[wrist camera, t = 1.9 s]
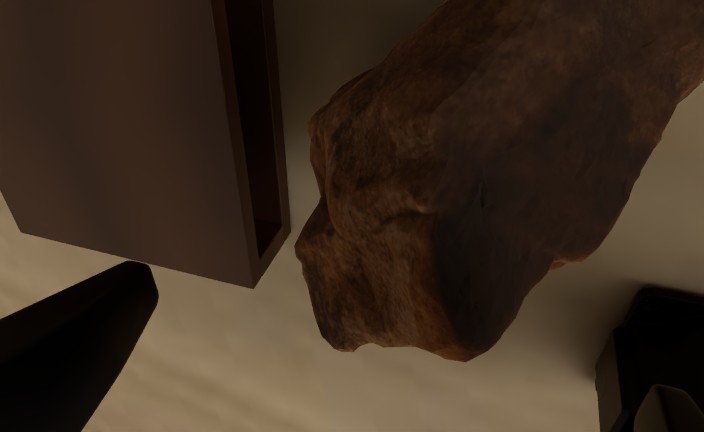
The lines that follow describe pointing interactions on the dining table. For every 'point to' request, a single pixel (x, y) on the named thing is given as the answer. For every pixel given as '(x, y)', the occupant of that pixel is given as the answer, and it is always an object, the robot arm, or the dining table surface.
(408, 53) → the decorative rock
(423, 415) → the dining table surface
